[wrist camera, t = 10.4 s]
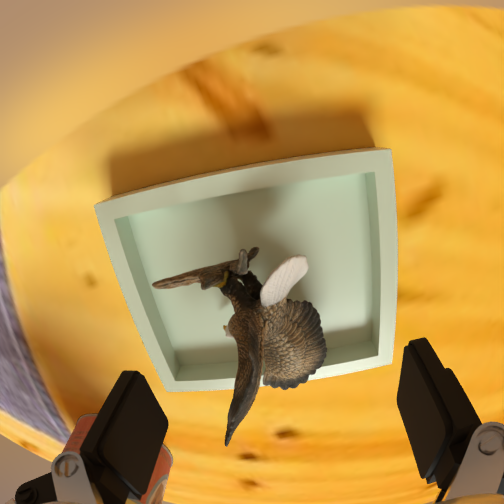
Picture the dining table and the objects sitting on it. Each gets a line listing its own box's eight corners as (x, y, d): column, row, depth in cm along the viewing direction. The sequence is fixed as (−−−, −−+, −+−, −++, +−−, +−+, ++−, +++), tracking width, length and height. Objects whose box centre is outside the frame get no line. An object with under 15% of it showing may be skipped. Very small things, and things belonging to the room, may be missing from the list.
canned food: (172, 479, 28) (153, 560, 17) (87, 451, 28) (56, 523, 17) (174, 434, 24) (146, 544, 13) (68, 399, 24) (18, 488, 13)
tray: (375, 146, 15) (390, 149, 13) (382, 343, 19) (391, 363, 17) (111, 196, 16) (93, 205, 14) (173, 370, 21) (166, 391, 19)
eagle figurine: (148, 289, 17) (207, 430, 16) (153, 271, 10) (248, 486, 9) (265, 249, 20) (313, 377, 19) (330, 215, 13) (389, 396, 12)
